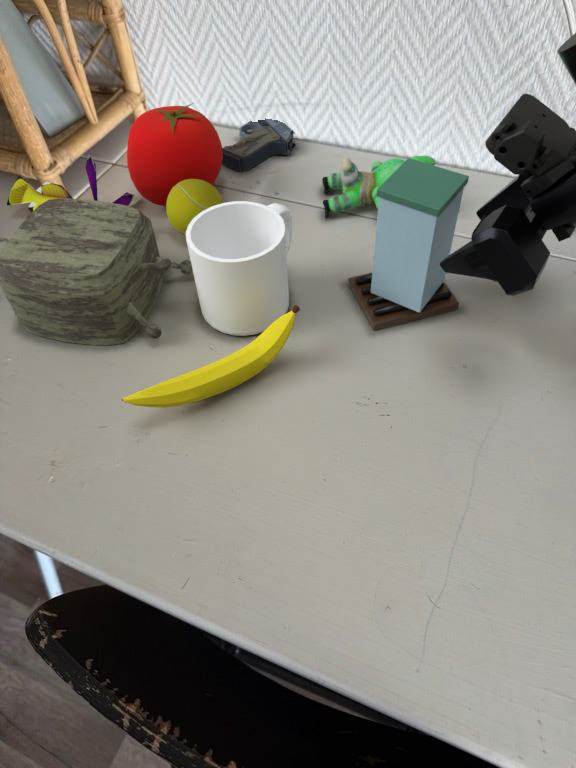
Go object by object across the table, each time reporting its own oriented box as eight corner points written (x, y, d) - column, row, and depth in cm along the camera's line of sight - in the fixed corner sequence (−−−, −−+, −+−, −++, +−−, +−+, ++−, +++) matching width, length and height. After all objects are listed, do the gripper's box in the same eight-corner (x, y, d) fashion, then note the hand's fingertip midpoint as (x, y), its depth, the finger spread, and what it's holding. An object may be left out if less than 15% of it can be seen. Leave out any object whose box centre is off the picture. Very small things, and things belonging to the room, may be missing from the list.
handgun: (196, 135, 93) (265, 114, 96) (230, 177, 85) (305, 153, 87) (193, 119, 91) (263, 99, 94) (228, 161, 83) (304, 137, 86)
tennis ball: (225, 247, 76) (199, 222, 80) (239, 196, 72) (211, 171, 76) (177, 247, 72) (152, 220, 76) (189, 192, 68) (162, 167, 72)
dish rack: (426, 265, 71) (428, 253, 69) (457, 309, 66) (460, 297, 64) (347, 284, 69) (348, 272, 68) (373, 331, 64) (375, 319, 63)
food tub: (446, 280, 66) (469, 175, 56) (420, 314, 63) (439, 210, 53) (395, 261, 69) (408, 157, 58) (367, 293, 65) (376, 189, 55)
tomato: (114, 202, 81) (89, 121, 72) (181, 157, 88) (166, 77, 79) (181, 232, 76) (162, 149, 67) (246, 181, 83) (238, 100, 74)
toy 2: (327, 237, 77) (444, 219, 75) (317, 188, 72) (444, 167, 69) (326, 193, 84) (434, 175, 81) (317, 144, 78) (433, 123, 76)
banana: (129, 420, 58) (111, 379, 53) (292, 340, 64) (290, 296, 59) (140, 441, 56) (123, 400, 51) (307, 357, 62) (306, 313, 57)
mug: (245, 351, 63) (234, 276, 55) (183, 309, 67) (165, 234, 59) (321, 289, 68) (322, 213, 60) (259, 254, 73) (252, 179, 65)
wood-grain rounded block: (201, 269, 72) (16, 245, 76) (189, 205, 65) (-14, 182, 69) (158, 357, 63) (-48, 323, 67) (140, 293, 56) (-90, 260, 60)
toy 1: (168, 205, 80) (142, 274, 80) (52, 170, 85) (27, 235, 84) (127, 164, 69) (96, 244, 68) (-5, 127, 73) (-34, 202, 73)
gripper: (605, 28, 48) (453, 128, 60) (531, 131, 38) (368, 225, 51) (667, 143, 51) (510, 216, 64) (612, 266, 41) (440, 323, 54)
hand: (461, 240), depth 58 cm, fingers open, 9 cm apart
